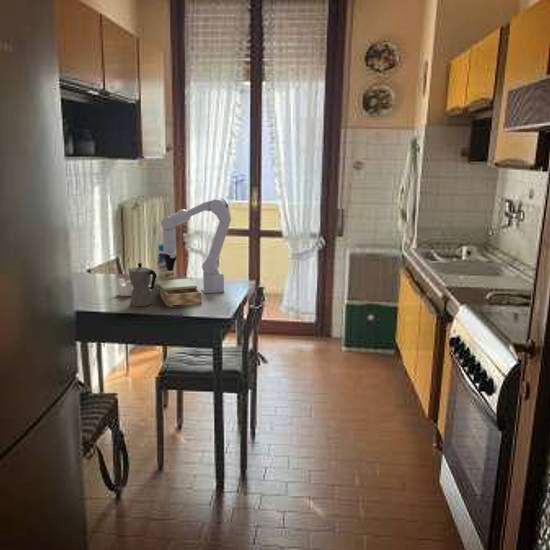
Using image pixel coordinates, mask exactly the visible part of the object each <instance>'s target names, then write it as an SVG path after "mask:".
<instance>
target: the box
mask: <svg viewBox="0 0 550 550" xmlns="http://www.w3.org/2000/svg"><path fill="white" fill-rule="evenodd" d="M160 289H161V290H160V299H161V301H162V300H163V301H162V302H163V303H164V305H165V306H166V305H167V306H169V307H174V306H173V305H181V306H189V305H190V306H191V305H192V306H193V305H200V304H201V305H202V302H203V301H202V300H203V299H202V292H201V291H200V289H198V287H197V288H188V289H175V290H163V289H162V288H161V287H160ZM167 306H166V307H167Z"/></svg>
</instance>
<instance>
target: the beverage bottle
mask: <svg viewBox="0 0 550 550" xmlns="http://www.w3.org/2000/svg"><path fill="white" fill-rule="evenodd" d="M161 251H163V243H160V244H158V252H159V253H158V255H157V263H156V264H157V275H158V277H157V278H158V280H171V279H176V277H175V267H174V268H173V271H168V270H167V267H166V262H165V259H164V257H163V255H166V254H164V253H161ZM175 264H176V262H175V263H174V266H175Z"/></svg>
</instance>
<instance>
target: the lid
mask: <svg viewBox="0 0 550 550" xmlns="http://www.w3.org/2000/svg"><path fill="white" fill-rule="evenodd" d="M160 287H161V288H162V289H163V290H175V289H188V288H197V289H198V285H197V284H196V283H195V282H194V281H192V280H191V279H190V278H189V277H187V278H175V279H171V280H157V279H156V290H157V291H159V290H160V291H161V289H160Z"/></svg>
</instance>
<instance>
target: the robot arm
mask: <svg viewBox="0 0 550 550" xmlns="http://www.w3.org/2000/svg"><path fill="white" fill-rule="evenodd" d="M204 211H206V212H212V213H213V214H214V215H215V216H216V217H217V219H218V221H219V222H218V225H217V228H216V232H215V235H214V238H213V241H212V244H211V248H210V250H209V252H208V255H207V257H206V259H205V261H204V262H203V263H202V266H201V268H202V271H203V272H202V273H203V274H202V276H203V278H202V279H203V280H202V281H203V285H202V287H203V288H201V291H202V292H203V293H205V294H214V293H216V294H217V293H223V292H225V276H224V273H223V272H221V271H220V272H219V270H218V269H219V267H220V258H221V256H220V255H221V252H222V249H223V246H224V243H225V240H226V236H227V235H228V230H229V228H230V224H231V221H232V216H231V213H230V206H229V204H228V203H227V201H226V199H225V198H221V197H218V198H215V199H211V200H208V201H205V202H202V203H200V204H198V205H196V206H194V207H192V208H191V209H188V210H187V209H182V208H180V209H179V210H178V211H177V212H175V213H170V214H169V215H168V216H164V217H163V218H162V220H161V221H160V222H161V223H160V225H161V227H162V242H163V243H162V244H163V251H161V253H164V254H166V255H163V257H164V259H165V262H166V267H167V270H168V271H173V268H174V269H175V265H174V263H175V264H176V260H177V259H178V258H177V256H176V254H177V249H176V248H177V245H176V226H180V225H182V224H185V223H186V222H189V221H190V219H191V217H192V216H195V215H198V214H200V213H202V212H204Z"/></svg>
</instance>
